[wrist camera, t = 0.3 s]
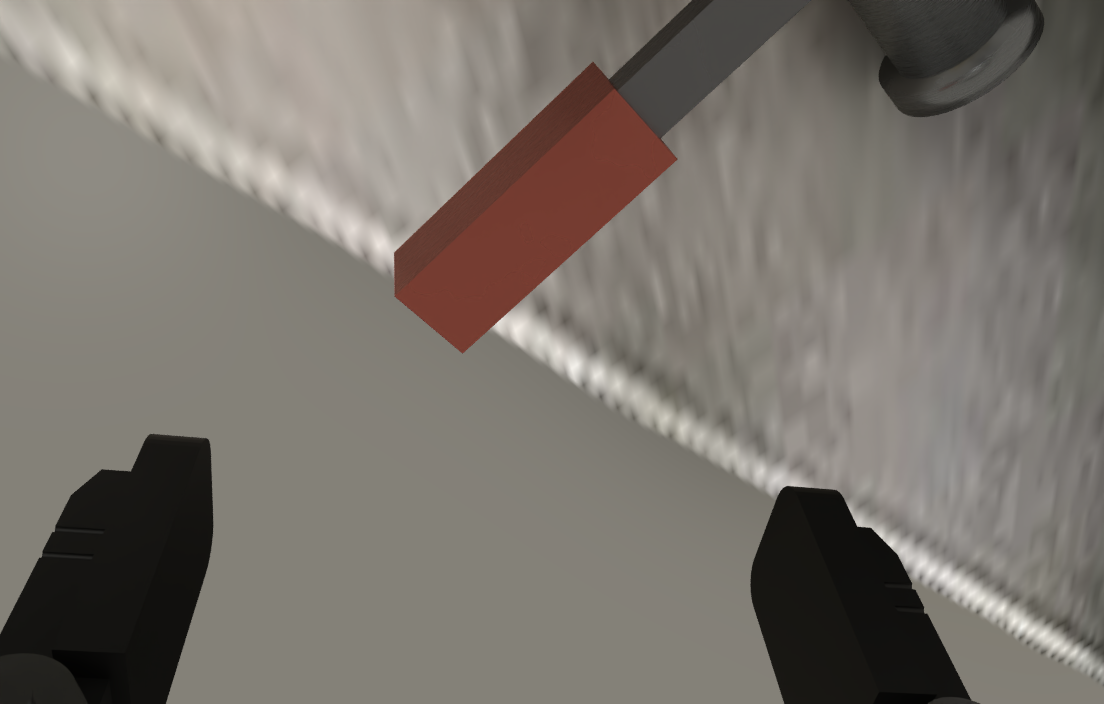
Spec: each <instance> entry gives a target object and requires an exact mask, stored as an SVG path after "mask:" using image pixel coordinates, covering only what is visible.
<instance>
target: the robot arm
mask: <svg viewBox="0 0 1104 704" xmlns="http://www.w3.org/2000/svg"><path fill="white" fill-rule="evenodd" d="M212 537H213V501H212V474H211V449H210V443H209V440H208V439H207V438H196V437H183V436H182V437H181V436H170V435H158V434H150V435H149V436H148V437H147V438H146V440H145V441H144V444H143V446H142V448H141V450H140V453H139V455H138V457H137V459H136V462H135V464H134V466H133V468H132V470H131V472H130V471H129V472H128V471H115V470H103V469H102V470H101V471H99V472H98V473H97V474H96V475H95V476H94V477H92V478H91V479H90V480H89V481H88V482H86V483H85V484H84V485H83V486H81V487H80V488H79V489H78V490H77V491H75V492H74V493H73V494H72V495H71V496H70V499H69V500H68V502H67V504H66V506H65V508H64V510H63V512H62V514H61V516H60V518H59V520H58V522H57V524H56V527H55V532H52V534H51V536H50V538H49V540H48V542H47V543H46V545H45V547H44V549H43V554H42V558H39V559H38V561H37V563H36V565H35V567H34V569H33V571H32V573H31V575H30V577H29V579H28V581H27V583H26V585H25V587H24V589H23V591H22V593H21V595H20V597H19V598H18V600H17V602H16V604H15V606H14V608H13V610H12V612H11V614H10V616H9V618H8V620H7V622H6V624H5V626H4V628H3V630H2V632H1V634H0V704H166V701H167V698H168V695H169V692H170V688H171V685H172V682H173V678H174V675H175V672H176V669H177V665H178V662H179V659H180V656H181V652H182V649H183V646H184V643H185V639H186V636H187V633H188V630H189V626H190V623H191V620H192V617H193V613H194V610H195V607H196V604H197V600H198V597H199V594H200V591H201V587H202V584H203V581H204V577H205V574H206V571H207V567H208V563H209V558H210V553H211V546H212ZM751 597H752V603H753V606H754V609H755V612H756V616H757V619H758V622H759V625H760V628H761V632H762V635H763V638H764V641H765V644H766V647H767V650H768V654H769V656H770V660H771V663H772V666H773V669H774V672H775V676H776V679H777V682H778V685H779V688H780V691H781V695H782V698H783V701H784V704H979V703H977V702H974V701H971V699H970V697H969V695H968V693H967V691H966V689H965V687H964V685H963V683H962V681H961V679H960V677H959V675H958V673H957V671H956V669H955V667H954V665H953V663H952V661H951V659H950V657H949V655H948V653H947V651H946V649H945V647H944V646H943V644H942V642H941V640H940V638H939V636H938V634H937V632H936V630H935V628H934V626H933V624H932V622H931V620H930V618H929V616H928V614H924V606H923V604H922V602H921V600H920V598H919V596H918V594H917V592H916V590H913V589H912V582H911V580H910V579H909V577H908V575H907V573H906V571H905V569H904V567H903V565H902V563H901V561H900V559H899V557H898V555H897V554H896V553H895V552H894V551H893V550H892V549H891V548H890V547H889V546H888V545H887V544H886V543H885V542H884V541H883V540H882V539H881V538H880V537H879V536H878V535H877V534H876V533H875V532H874V530H873V529H872V528H866V527H857V525H856V523H855V521H854V519H853V517H852V515H851V513H850V511H849V508H848V506H847V504H846V502H845V500H844V498H843V496H842V495H841V494H840V492H838V491H837V490H831V489H819V488H806V487H793V486H786V487H784V488H783V489H782V490H781V491H780V493H779V495H778V497H777V500H776V502H775V505H774V508H773V510H772V513H771V516H770V518H769V521H768V524H767V526H766V529H765V532H764V534H763V537H762V540H761V542H760V545H759V548H758V550H757V553H756V556H755V558H754V562H753V565H752V571H751Z"/></svg>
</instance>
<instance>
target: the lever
mask: <svg viewBox="0 0 1104 704" xmlns="http://www.w3.org/2000/svg"><path fill="white" fill-rule="evenodd" d="M810 1H811V0H692V1H691V2H690V3H689V4H688V5H687V6H686V7H685V8H684V9H683V10H681V11H680V12H679V13H678V14H677V15H676V16H675V17H674V18H673V19H672V20H671V21H670V22H669V23H668V24H667V25H666V26H665V27H664V28H663V29H661V30H660V31H659V32H658V33H657V34H656V35H655V36H654V37H653V38H652V39H651V40H650V41H649V42H648V43H647V44H646V45H645V46H644V47H643V48H641V49H640V50H639V51H638V52H637V53H636V54H635V55H634V56H633V57H632V58H631V59H630V60H629V61H628V62H627V63H626V64H625V65H624V66H623V67H621V68H620V69H619V70H618V71H617V72H616V73H615V74H614V75H613V76H612V77H611V78H610V79H608V78H607V77H606V76H605V75H604V73H603V72H602V71H601V70H600V69H599V68H598V67H597V66H596V64H595V63H594V62H592V63H591V64H590V65H589V66H588V67H587V68H586V69H585V70H584V71H583V72H582V73H581V74H580V75H579V76H578V77H576V78H575V79H574V80H573V81H572V82H571V83H570V84H569V85H568V86H567V87H566V88H565V89H564V90H563V91H562V92H561V93H560V94H559V95H558V96H557V97H556V98H555V99H554V100H553V101H551V102H550V103H549V104H548V105H547V106H546V107H545V108H544V109H543V110H542V111H541V112H540V113H539V114H538V115H537V116H536V117H535V118H534V119H533V120H532V121H531V122H530V123H529V124H528V125H527V126H525V127H524V128H523V129H522V130H521V131H520V132H519V133H518V134H517V135H516V136H515V137H514V138H513V139H512V140H511V141H510V142H509V143H508V144H507V145H506V146H505V147H504V148H503V149H502V150H501V151H499V152H498V153H497V154H496V155H495V156H494V157H493V158H492V159H491V160H490V161H489V162H488V163H487V164H486V165H485V166H484V167H483V168H482V169H481V170H480V171H479V172H478V173H477V174H476V175H474V176H473V177H472V178H471V179H470V180H469V181H468V182H467V183H466V184H465V185H464V186H463V187H462V188H461V189H460V190H459V191H458V192H457V193H456V194H455V195H454V196H453V197H452V198H451V199H450V200H448V201H447V202H446V203H445V204H444V205H443V206H442V207H441V208H440V209H439V210H438V211H437V212H436V213H435V214H434V215H433V216H432V217H431V218H430V219H429V220H428V221H427V222H426V223H425V224H423V225H422V226H421V227H420V228H419V229H418V230H417V231H416V232H415V233H414V234H413V235H412V236H411V237H410V238H409V239H408V240H407V241H406V242H405V243H404V244H403V245H402V246H401V247H400V248H399V249H397V250H396V251H395V252H394V279H395V297H396V298H397V299H398V300H400V301H401V302H402V303H403V304H404V305H405V306H407V307H408V308H409V309H410V310H411V311H413V312H414V313H415V314H416V315H417V316H419V317H420V318H421V319H422V320H423V321H425V322H426V323H427V324H428V325H429V326H430V327H432V328H433V329H434V330H435V331H436V332H438V333H439V334H440V335H441V336H442V337H444V338H445V339H446V340H447V341H448V342H450V343H451V344H452V345H453V346H454V347H455V348H457V349H458V350H459V351H460V352H462V353H464V352H465V351H466V350H467V349H468V348H469V347H470V346H471V345H473V344H474V343H475V342H476V341H477V340H478V339H479V338H480V337H481V336H482V335H483V334H485V333H486V332H487V331H488V330H489V329H490V328H491V327H492V326H494V325H495V324H496V323H497V322H498V321H499V320H500V319H501V318H502V317H504V316H505V315H506V314H507V313H508V312H509V311H510V310H511V309H512V308H513V307H515V306H516V305H517V304H518V303H519V302H520V301H521V300H522V299H523V298H525V297H526V296H527V295H528V294H529V293H530V292H531V291H532V290H533V289H535V288H536V287H537V286H538V285H539V284H540V283H541V282H542V281H543V280H544V279H546V278H547V277H548V276H549V275H550V274H551V273H552V272H553V271H554V270H556V269H557V268H558V267H559V266H560V265H561V264H562V263H563V262H564V261H565V260H567V259H568V258H569V257H570V256H571V255H572V254H573V253H574V252H575V251H577V250H578V249H579V248H580V247H581V246H582V245H583V244H584V243H585V242H587V241H588V240H589V239H590V238H591V237H592V236H593V235H594V234H595V233H596V232H598V231H599V230H600V229H601V228H602V227H603V226H604V225H605V224H606V223H608V222H609V221H610V220H611V219H612V218H613V217H614V216H615V215H616V214H618V213H619V212H620V211H621V210H622V209H623V208H624V207H625V206H626V205H627V204H629V203H630V202H631V201H632V200H633V199H634V198H635V197H636V196H637V195H639V194H640V193H641V192H642V191H643V190H644V189H645V188H646V187H647V186H648V185H650V184H651V183H652V182H653V181H654V180H655V179H656V178H657V177H658V176H660V175H661V174H662V173H663V172H664V171H665V170H666V169H667V168H668V167H670V166H671V165H672V164H673V163H674V162H675V161H676V160H677V158H676V157H675V156H674V154H673V153H672V152H671V151H670V150H669V148H668V147H667V146H666V145H665V143H664V142H663V141H662V140H661V137H662V136H663V135H665V134H666V133H667V132H668V131H669V130H670V129H671V128H672V127H673V126H674V125H675V124H677V123H678V122H679V121H680V120H681V119H682V118H683V117H684V116H685V115H686V114H687V113H689V112H690V111H691V110H692V109H693V108H694V107H695V106H696V105H697V104H698V103H699V102H701V101H702V100H703V99H704V98H705V97H706V96H707V95H708V94H709V93H710V92H712V91H713V90H714V89H715V88H716V87H717V86H718V85H719V84H720V83H721V82H722V81H724V80H725V79H726V78H727V77H728V76H729V75H730V74H731V73H732V72H733V71H734V70H736V69H737V68H738V67H739V66H740V65H741V64H742V63H743V62H744V61H745V60H746V59H748V58H749V57H750V56H751V55H752V54H753V53H754V52H755V51H756V50H757V49H758V48H760V47H761V46H762V45H763V44H764V43H765V42H766V41H767V40H768V39H769V38H770V37H772V36H773V35H774V34H775V33H776V32H777V31H778V30H779V29H780V28H781V27H783V26H784V25H785V24H786V23H787V22H788V21H789V20H790V19H791V18H792V17H793V16H795V15H796V14H797V13H798V12H799V11H800V10H801V9H802V8H803V7H804V6H805V5H807V4H808V3H809V2H810Z"/></svg>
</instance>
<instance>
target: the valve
mask: <svg viewBox="0 0 1104 704" xmlns="http://www.w3.org/2000/svg"><path fill="white" fill-rule="evenodd" d="M848 1H849V2H850V4H851V5H852V7H853V8H854V10H855V11H856V12H857V14H858V15H859V17H860V18H861V20H862V21H863V22H864V24H865V25H866V27H867V28H868V29H869V31H870V32H871V34H872V35H873V37H874V38H875V39H876V41H877V42H878V44H879V45H880V47H881V48H882V49H883V51H884V52H885V54H886V55H885V57H884V59H883V61H882V64H881V67H880V70H879V82H880V85H881V86H882V88H883V89H884V90H885V92H886V93H887V95H888V96H889V97H890V99H891V100H892V102H893V103H894V104H895V106H896V107H897V108H898V110H899V111H901V112H902V113H903V114H906V115H908V116H913V117H928V116H934V115H939V114H942V113H946V112H949V111H952V110H954V109H957V108H959V107H962V106H964V105H966V104H968V103H970V102H972V101H974V100H976V99H978V98H979V97H981V96H983V95H984V94H986V93H987V92H989V91H990V90H992V89H993V88H995V87H996V86H998V85H999V84H1000V83H1001V82H1003V81H1004V80H1005V79H1007V78H1008V77H1009V76H1010V75H1011V74H1012V73H1013V72H1014V71H1015V70H1017V68H1018V67H1019V66H1020V65H1021V64H1022V63H1023V62H1024V61H1025V60H1026V59H1027V57H1028V56H1029V55H1030V54H1031V52H1032V51H1033V49H1034V48H1035V47H1036V45H1037V43H1038V41H1039V39H1040V37H1041V34H1042V32H1043V27H1044V17H1043V14H1042V12H1041V10H1040V9H1039V7H1038V5H1037V3H1036V2H1035V0H848Z"/></svg>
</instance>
